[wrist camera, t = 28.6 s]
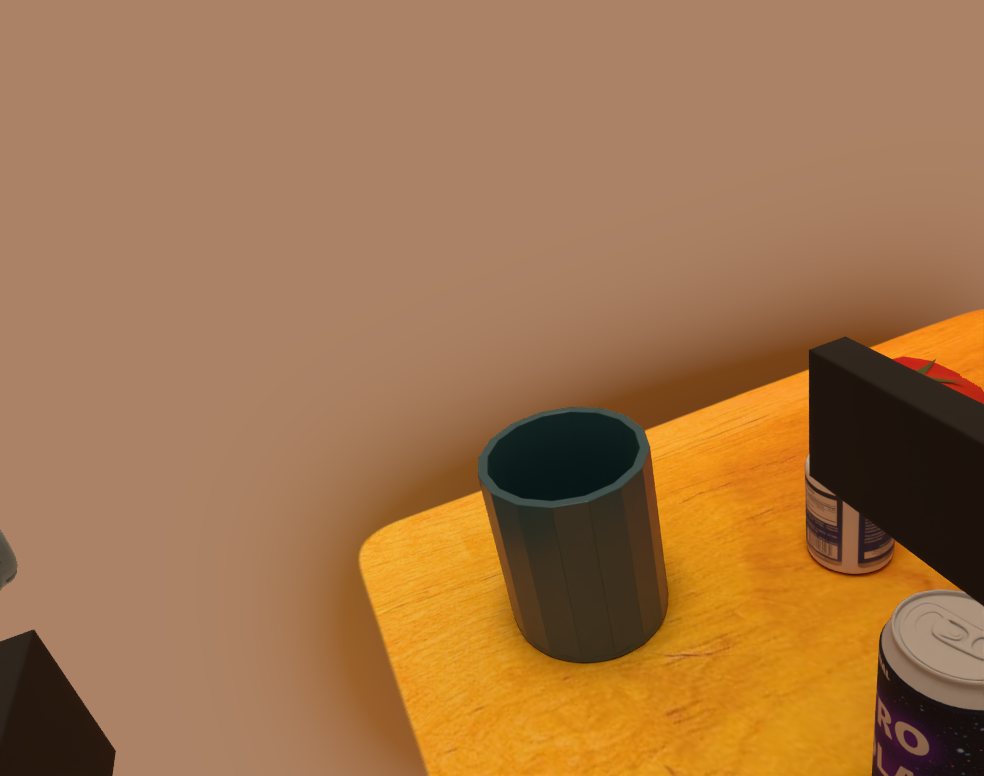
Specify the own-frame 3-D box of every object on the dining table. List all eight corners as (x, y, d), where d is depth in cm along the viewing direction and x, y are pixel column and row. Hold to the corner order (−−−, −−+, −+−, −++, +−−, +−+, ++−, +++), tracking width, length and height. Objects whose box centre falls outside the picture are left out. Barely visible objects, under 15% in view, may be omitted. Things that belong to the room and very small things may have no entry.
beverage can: (905, 737, 40) (919, 563, 34) (1030, 809, 36) (1069, 624, 30) (848, 815, 37) (854, 640, 32) (975, 902, 33) (1008, 719, 27)
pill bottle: (889, 524, 53) (896, 405, 49) (897, 580, 49) (905, 454, 44) (805, 520, 55) (804, 405, 51) (806, 573, 51) (804, 452, 47)
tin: (493, 648, 51) (450, 498, 45) (543, 543, 59) (513, 404, 53) (649, 676, 47) (625, 514, 41) (680, 558, 55) (664, 409, 49)
